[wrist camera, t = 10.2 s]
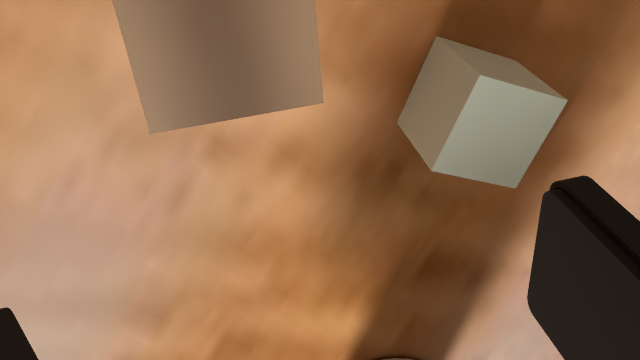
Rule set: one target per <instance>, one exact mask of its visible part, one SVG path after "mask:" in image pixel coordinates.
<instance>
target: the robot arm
mask: <svg viewBox="0 0 640 360" xmlns="http://www.w3.org/2000/svg"><path fill="white" fill-rule="evenodd" d="M527 299H528V305H529V308H530V310H531V313H532V314H533V316H534V317H535V319H536V320H537V322H538V323H539V324H540V326H541V327H542V329H543V330H544V331H545V333H546V334H547V336H548V337H549V338H550V340H551V341H552V343H553V344H554V345H555V347H556V348H557V350H558V351H559V352H560V354H561V355H562V356H563V358H564V359H565V360H640V221H639V220H637V219H636V218H635V217H634V216H633V215H632V214H631V213H630V212H628V211H627V210H626V209H625V208H624V207H623V206H622V205H621V204H619V203H618V202H617V201H616V200H615V199H614V198H613V197H612V196H610V195H609V194H608V193H607V192H606V191H605V190H604V189H603V188H601V187H600V186H599V185H598V184H597V183H596V182H595V181H594V180H593V179H591V178H590V177H588V176H579V177H575V178H570V179H565V180H560V181H556V182H554V183H553V184H552V185H551V187H550V190H549V191H547V192H545V193H544V195H543V198H542V204H541V210H540V217H539V223H538V230H537V236H536V243H535V249H534V256H533V262H532V269H531V275H530V282H529V289H528V296H527ZM0 360H38V358H37V356H36V354H35V353H34V351H33V349H32V347H31V345H30V343H29V342H28V340H27V338H26V336H25V334H24V332H23V330H22V329H21V327H20V325H19V323H18V321H17V319H16V318H15V316H14V314H13V312H12V311H11V309H9V308H2V309H0ZM382 360H413V359H408V358H391V359H382Z"/></svg>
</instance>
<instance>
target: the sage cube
mask: <svg viewBox="0 0 640 360" xmlns="http://www.w3.org/2000/svg"><path fill="white" fill-rule="evenodd" d="M567 101H568V100H567V99H566V98H564V97H563V96H562V95H560V94H559V93H558V92H556V91H555V90H554V89H552V88H551V87H550V86H549V85H547V84H546V83H545V82H543V81H542V80H541V79H539V78H538V77H537V76H535V75H534V74H533V73H531V72H530V71H529V70H528V69H526V68H525V67H524V66H522V65H521V64H520V63H518V62H517V61H516V60H513V59H509V58H506V57H503V56H500V55H496V54H493V53H490V52H487V51H484V50H480V49H477V48H474V47H471V46H467V45H464V44H461V43H458V42H454V41H451V40H448V39H445V38H442V37H438V36H436V38H435V40H434V42H433V44H432V47H431V49H430V51H429V53H428V55H427V57H426V60H425V62H424V64H423V66H422V68H421V71H420V73H419V75H418V77H417V79H416V82H415V84H414V86H413V88H412V90H411V92H410V95H409V97H408V99H407V101H406V103H405V106H404V108H403V110H402V112H401V114H400V117H399V119H398V121H397V124H398V125H399V127H400V128H401V129H402V131H403V132H404V134H405V135H406V136H407V138H408V139H409V141H410V142H411V143H412V145H413V146H414V148H415V149H416V150H417V152H418V153H419V155H420V156H421V157H422V159H423V160H424V162H425V163H426V164H427V166H428V167H429V169H430V170H431V171H433V172H438V173H443V174H448V175H453V176H457V177H462V178H467V179H472V180H476V181H481V182H486V183H491V184H495V185H500V186H505V187H510V188H515V189H516V187H517V185H518V184H519V182H520V180H521V179H522V177H523V175H524V174H525V172H526V170H527V169H528V167H529V165H530V164H531V162H532V160H533V158H534V157H535V155H536V153H537V152H538V150H539V148H540V147H541V145H542V143H543V142H544V140H545V138H546V137H547V135H548V133H549V132H550V130H551V128H552V127H553V125H554V123H555V122H556V120H557V118H558V117H559V115H560V113H561V112H562V110H563V108H564V106H565V105H566V103H567Z"/></svg>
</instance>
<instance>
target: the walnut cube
mask: <svg viewBox="0 0 640 360" xmlns="http://www.w3.org/2000/svg"><path fill="white" fill-rule="evenodd" d="M112 1H113V4H114V8H115V11H116V15H117V18H118V22H119V26H120V29H121V33H122V36H123V40H124V43H125V47H126V50H127V54H128V57H129V61H130V64H131V68H132V72H133V75H134V79H135V82H136V86H137V89H138V93H139V96H140V100H141V103H142V107H143V110H144V114H145V117H146V121H147V125H148V128H149V132H150V134H153V133H159V132H165V131H170V130H176V129H181V128H187V127H192V126H198V125H204V124H209V123H215V122H220V121H226V120H231V119H237V118H242V117H248V116H254V115H259V114H265V113H270V112H276V111H281V110H287V109H293V108H298V107H304V106H309V105H315V104H320V103H324V101H323V90H322V78H321V67H320V55H319V43H318V32H317V20H316V9H315V0H112Z"/></svg>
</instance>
